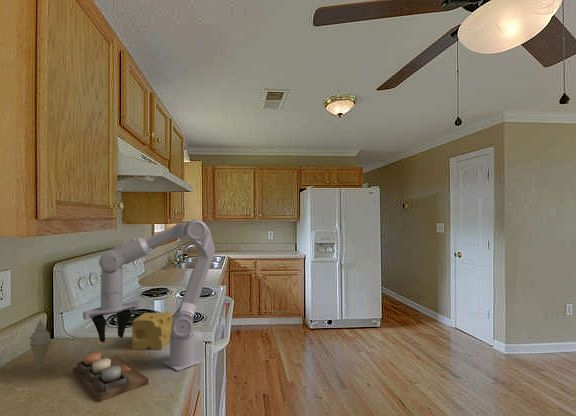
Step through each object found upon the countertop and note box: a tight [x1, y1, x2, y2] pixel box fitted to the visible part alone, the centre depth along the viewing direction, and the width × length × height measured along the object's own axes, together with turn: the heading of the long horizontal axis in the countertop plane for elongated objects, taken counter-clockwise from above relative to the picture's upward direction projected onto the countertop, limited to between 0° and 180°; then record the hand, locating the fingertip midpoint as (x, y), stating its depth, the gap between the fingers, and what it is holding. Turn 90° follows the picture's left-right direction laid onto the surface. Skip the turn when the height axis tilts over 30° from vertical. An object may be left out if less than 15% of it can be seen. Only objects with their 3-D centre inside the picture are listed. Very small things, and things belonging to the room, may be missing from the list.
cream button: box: [92, 358, 111, 373], centre depth 97 cm, size 4×4×2 cm
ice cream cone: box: [29, 318, 52, 372], centre depth 103 cm, size 5×5×15 cm
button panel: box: [72, 355, 149, 402], centre depth 98 cm, size 12×22×3 cm, turn 46°
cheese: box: [131, 311, 173, 351], centre depth 124 cm, size 10×11×10 cm
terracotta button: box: [83, 351, 103, 365], centre depth 101 cm, size 4×4×2 cm
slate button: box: [102, 366, 121, 381], centre depth 92 cm, size 4×4×2 cm
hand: (111, 339), depth 102 cm, fingers open, 4 cm apart
